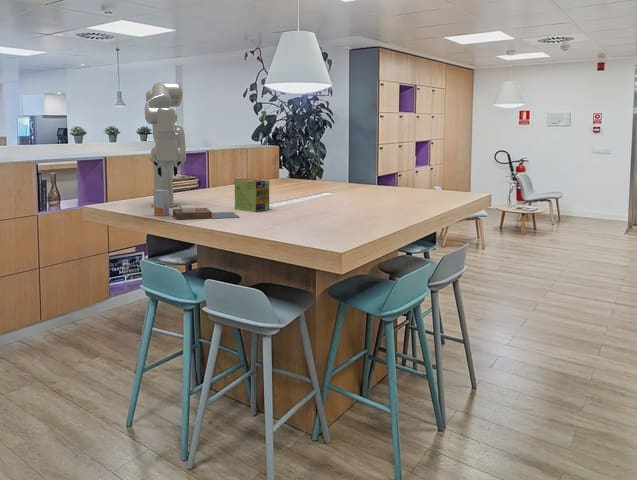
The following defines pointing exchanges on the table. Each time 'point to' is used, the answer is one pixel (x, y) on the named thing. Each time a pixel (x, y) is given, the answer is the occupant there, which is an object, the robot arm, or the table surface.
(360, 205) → the table surface
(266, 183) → the protein box
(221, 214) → the mat
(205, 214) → the board
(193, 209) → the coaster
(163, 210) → the skincare box
